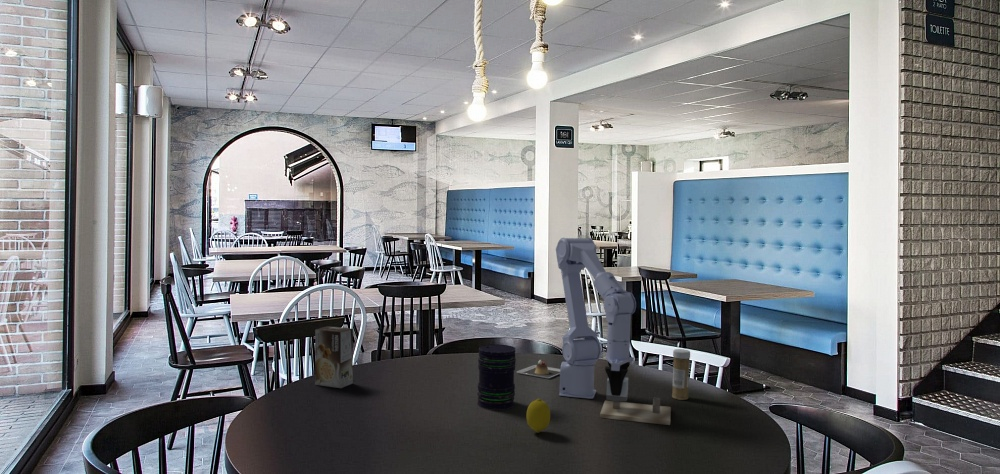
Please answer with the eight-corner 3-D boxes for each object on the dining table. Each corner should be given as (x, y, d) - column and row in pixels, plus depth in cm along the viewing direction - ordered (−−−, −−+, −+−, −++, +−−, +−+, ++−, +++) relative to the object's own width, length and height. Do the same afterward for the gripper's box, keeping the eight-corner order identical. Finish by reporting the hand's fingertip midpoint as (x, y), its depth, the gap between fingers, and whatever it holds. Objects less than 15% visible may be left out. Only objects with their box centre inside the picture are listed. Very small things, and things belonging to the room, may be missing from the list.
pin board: (599, 417, 163) (600, 399, 163) (604, 404, 175) (605, 387, 175) (670, 425, 159) (670, 406, 159) (670, 410, 171) (671, 393, 170)
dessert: (567, 373, 209) (567, 358, 209) (549, 381, 199) (549, 365, 199) (534, 368, 215) (534, 353, 215) (515, 375, 205) (515, 360, 205)
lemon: (524, 428, 154) (525, 395, 153) (547, 428, 154) (548, 395, 154) (527, 437, 148) (528, 402, 148) (551, 437, 149) (552, 402, 148)
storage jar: (520, 402, 175) (522, 346, 174) (505, 412, 166) (506, 353, 165) (487, 397, 179) (488, 342, 178) (470, 406, 170) (471, 349, 169)
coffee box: (353, 383, 189) (354, 328, 188) (340, 388, 183) (341, 332, 182) (327, 379, 192) (328, 325, 192) (313, 384, 187) (314, 329, 186)
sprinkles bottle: (692, 399, 182) (693, 351, 181) (680, 401, 179) (682, 352, 179) (679, 394, 186) (680, 347, 185) (668, 397, 183) (669, 349, 183)
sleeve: (606, 399, 166) (606, 380, 166) (608, 394, 171) (608, 375, 171) (626, 401, 165) (626, 382, 165) (627, 396, 170) (628, 377, 170)
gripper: (632, 346, 159) (630, 401, 160) (636, 335, 173) (634, 386, 174) (603, 344, 161) (601, 398, 162) (609, 333, 175) (607, 384, 176)
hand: (616, 392), depth 168 cm, fingers closed on sleeve, 5 cm apart
